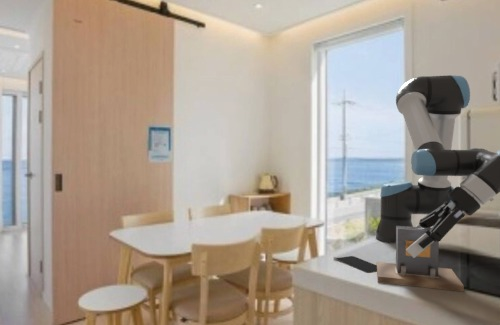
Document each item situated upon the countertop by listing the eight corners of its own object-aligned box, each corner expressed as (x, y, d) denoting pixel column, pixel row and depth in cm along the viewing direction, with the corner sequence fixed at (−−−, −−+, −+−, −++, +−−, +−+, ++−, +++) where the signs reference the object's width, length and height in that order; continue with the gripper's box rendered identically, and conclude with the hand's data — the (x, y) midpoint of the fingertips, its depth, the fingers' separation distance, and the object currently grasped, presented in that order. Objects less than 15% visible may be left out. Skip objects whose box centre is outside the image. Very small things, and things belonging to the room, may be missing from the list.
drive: (434, 271, 98) (435, 228, 98) (438, 277, 94) (438, 231, 93) (395, 267, 101) (396, 225, 101) (397, 273, 97) (397, 229, 96)
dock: (451, 274, 101) (451, 260, 101) (463, 291, 88) (463, 275, 88) (376, 266, 107) (376, 253, 107) (377, 282, 94) (377, 267, 94)
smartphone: (367, 272, 101) (334, 258, 115) (367, 274, 101) (334, 260, 115) (386, 269, 104) (352, 255, 118) (386, 271, 104) (352, 257, 118)
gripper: (498, 213, 80) (424, 271, 85) (468, 200, 104) (412, 247, 109) (471, 188, 82) (400, 247, 87) (448, 182, 106) (393, 228, 111)
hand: (406, 247), depth 98 cm, fingers open, 13 cm apart
